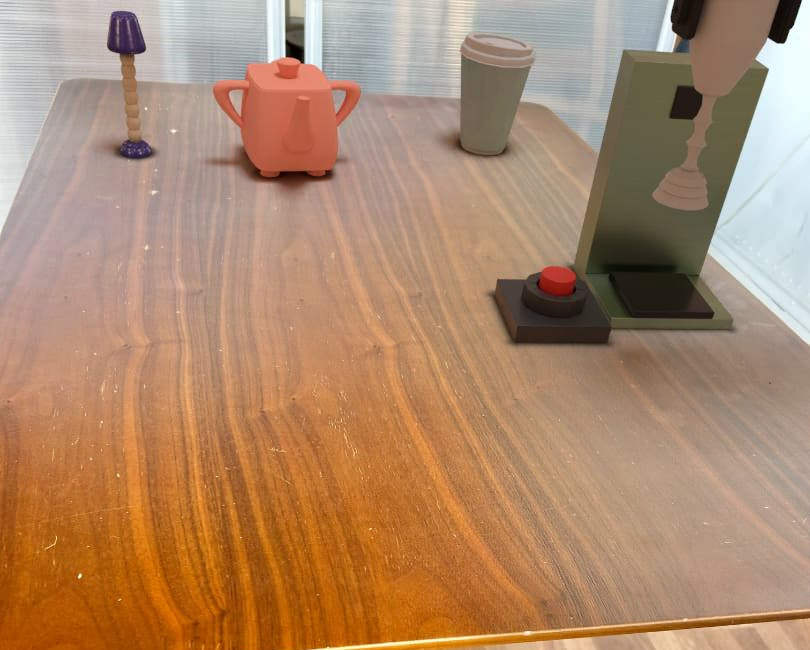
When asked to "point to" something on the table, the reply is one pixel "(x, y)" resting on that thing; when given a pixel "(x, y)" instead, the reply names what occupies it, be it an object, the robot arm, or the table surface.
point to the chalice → (715, 82)
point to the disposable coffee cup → (491, 89)
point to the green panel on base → (641, 175)
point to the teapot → (288, 115)
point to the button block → (550, 313)
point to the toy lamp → (129, 77)
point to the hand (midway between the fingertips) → (728, 35)
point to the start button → (557, 281)
